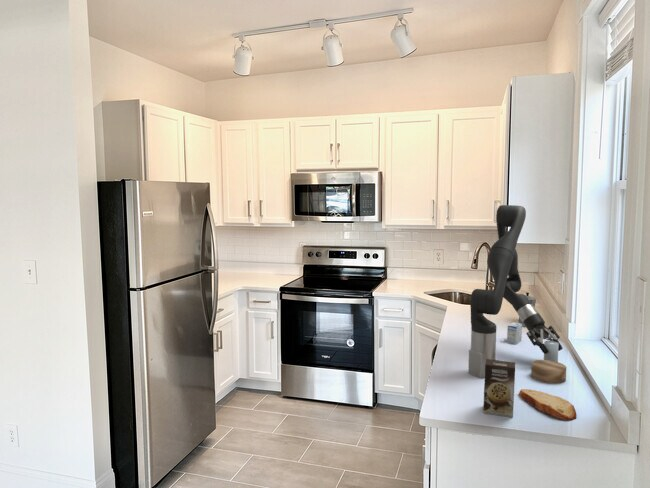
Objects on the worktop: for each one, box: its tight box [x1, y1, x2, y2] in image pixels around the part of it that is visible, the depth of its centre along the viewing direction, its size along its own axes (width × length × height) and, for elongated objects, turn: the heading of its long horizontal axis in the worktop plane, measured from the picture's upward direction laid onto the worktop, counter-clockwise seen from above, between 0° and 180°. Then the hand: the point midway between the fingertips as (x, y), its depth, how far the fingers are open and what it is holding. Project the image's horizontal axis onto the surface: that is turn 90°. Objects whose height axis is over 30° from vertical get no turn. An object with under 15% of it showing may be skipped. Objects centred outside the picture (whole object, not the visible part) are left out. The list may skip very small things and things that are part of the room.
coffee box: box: [482, 359, 516, 418], centre depth 152 cm, size 9×6×16 cm
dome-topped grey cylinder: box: [543, 340, 560, 362], centre depth 192 cm, size 5×5×10 cm
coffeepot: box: [517, 292, 537, 328], centre depth 256 cm, size 15×9×18 cm, turn 176°
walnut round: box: [530, 359, 567, 384], centre depth 181 cm, size 12×12×5 cm
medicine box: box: [506, 321, 523, 345], centre depth 226 cm, size 8×4×9 cm, turn 141°
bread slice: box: [517, 388, 577, 422], centre depth 156 cm, size 18×18×4 cm
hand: (554, 351), depth 191 cm, fingers open, 8 cm apart
